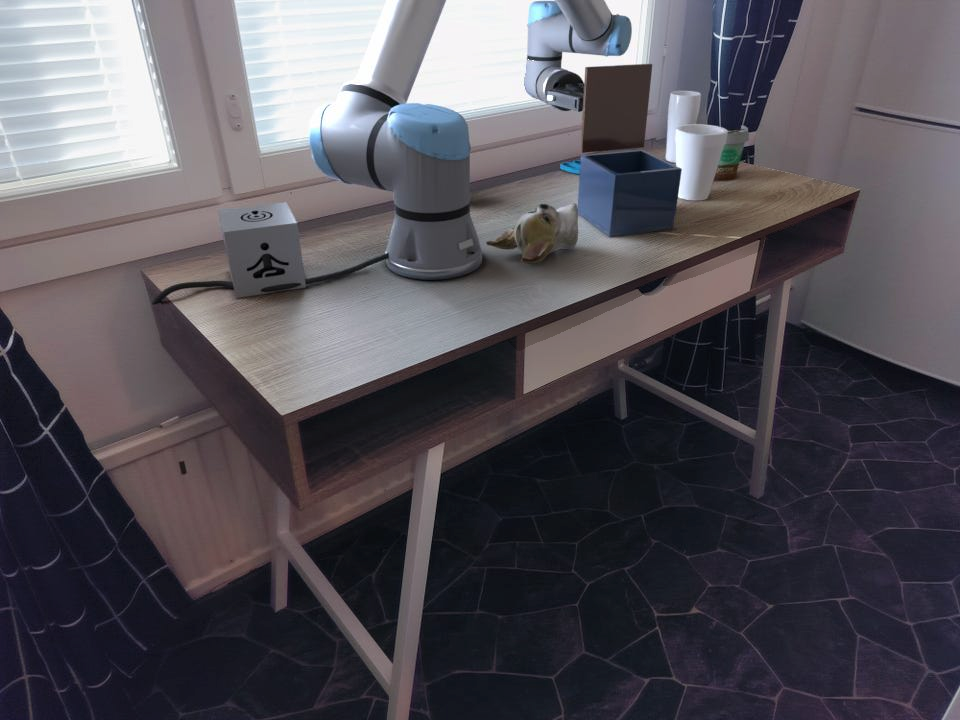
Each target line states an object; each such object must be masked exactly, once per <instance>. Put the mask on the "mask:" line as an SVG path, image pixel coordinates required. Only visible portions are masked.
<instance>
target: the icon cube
mask: <svg viewBox="0 0 960 720" xmlns="http://www.w3.org/2000/svg"><path fill="white" fill-rule="evenodd" d="M217 214H218V218H219V224H220V230H221V234H222V239H223V245H224V249H225V255H226V260H227V264H228V269H229V274H230V279H231V282H233V286H234V288H233V291H234V295H235V298H236V299H241V298H246V297H247V298H248V297H253V296H259V295H265V294H266V295H267V294H271V293H278V292H279V293H280V292H286V291H291V290H298V289H305V288H306V287H307V285H306V284H305V279H306V277H305V270H304V261H303V256H302V255H303V254H302V248H301V247H302V246H301V241H300V234H299V227H298V226H299V225H298V221H297V220H296V217H295V215H294V213H293V212H292V210H291V209H290V207H289V204H288V203H287V202H286V201H284V202H275V203H268V204H258V205H251V206H243V207H233V208H225V209H217ZM289 283H301V285H300V286H298V287H295V288H290V289H285V290H280V291H272V292H262V291H261V289H263V288H265V287H270V286H275V285H281V284H289Z"/></svg>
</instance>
